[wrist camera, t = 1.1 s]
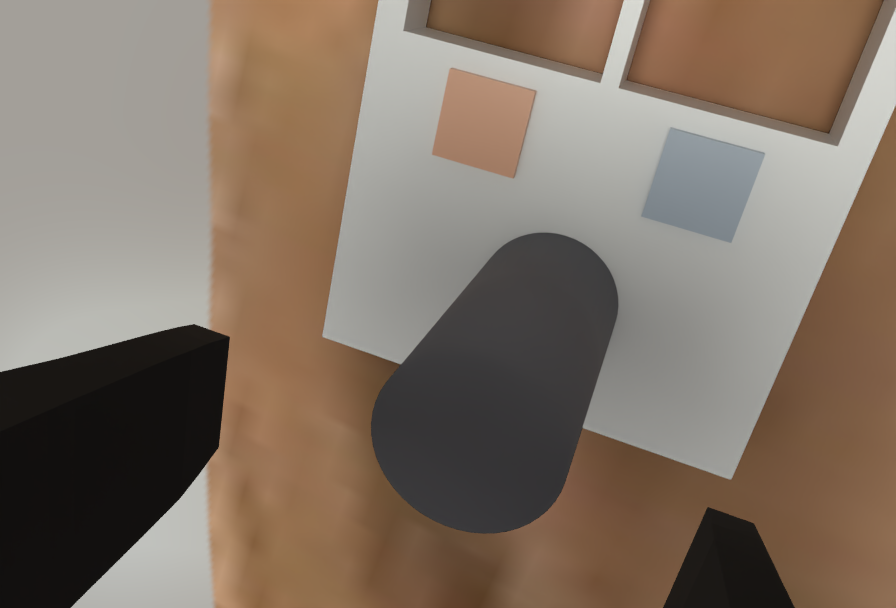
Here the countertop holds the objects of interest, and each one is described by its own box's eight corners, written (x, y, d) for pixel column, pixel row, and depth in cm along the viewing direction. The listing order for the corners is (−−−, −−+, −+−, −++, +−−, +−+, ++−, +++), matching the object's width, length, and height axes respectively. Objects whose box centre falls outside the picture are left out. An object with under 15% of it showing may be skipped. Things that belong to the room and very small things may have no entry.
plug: (595, 383, 20) (538, 561, 14) (464, 339, 21) (356, 491, 15) (637, 257, 19) (594, 393, 13) (496, 214, 20) (390, 323, 13)
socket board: (730, 447, 22) (731, 484, 20) (346, 315, 24) (319, 339, 22) (988, -153, 16) (1018, -168, 14) (449, -257, 18) (421, -281, 16)
